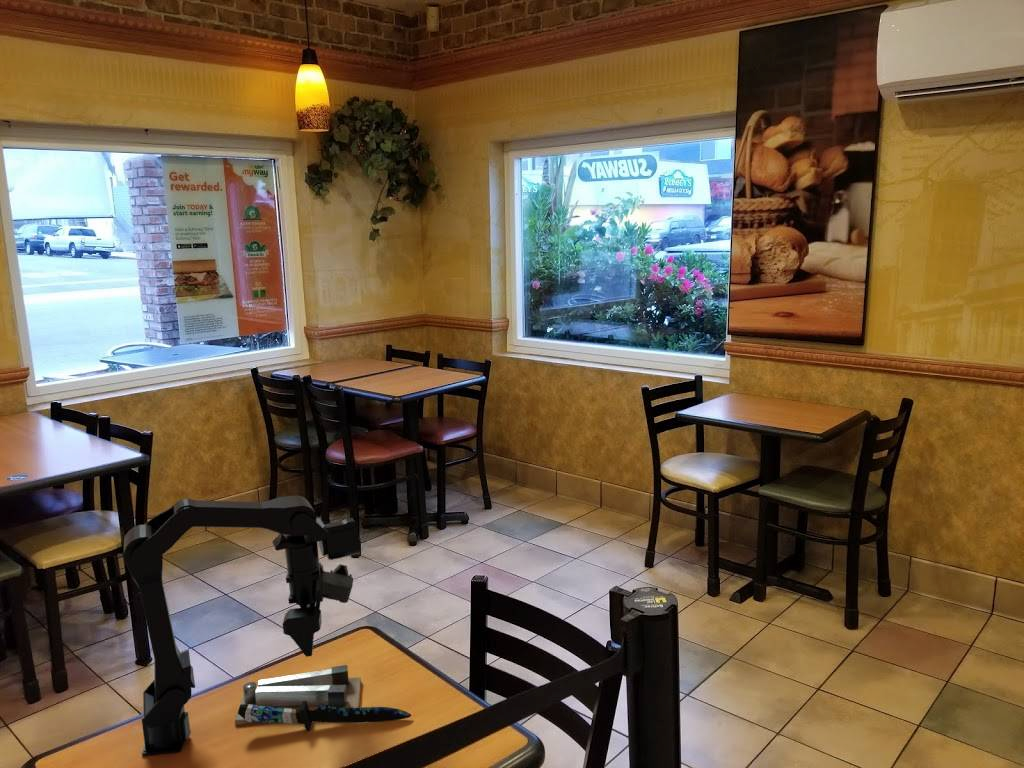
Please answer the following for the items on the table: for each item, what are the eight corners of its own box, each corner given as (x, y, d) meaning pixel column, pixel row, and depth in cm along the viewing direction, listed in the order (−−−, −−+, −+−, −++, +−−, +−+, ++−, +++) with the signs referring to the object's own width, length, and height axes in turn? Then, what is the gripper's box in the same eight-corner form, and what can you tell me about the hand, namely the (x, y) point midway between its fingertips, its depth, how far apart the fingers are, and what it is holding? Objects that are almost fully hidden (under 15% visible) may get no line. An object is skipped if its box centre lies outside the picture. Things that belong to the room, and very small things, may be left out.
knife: (236, 729, 136) (236, 707, 135) (241, 718, 139) (241, 696, 138) (409, 737, 139) (410, 716, 138) (410, 726, 142) (412, 705, 141)
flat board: (235, 725, 140) (234, 720, 139) (245, 692, 149) (245, 687, 149) (358, 713, 143) (358, 708, 142) (361, 681, 152) (360, 677, 152)
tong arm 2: (259, 699, 145) (258, 685, 144) (260, 692, 147) (258, 678, 146) (348, 684, 149) (347, 670, 149) (348, 678, 151) (347, 664, 151)
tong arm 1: (255, 708, 142) (254, 693, 142) (259, 701, 144) (257, 686, 144) (344, 706, 143) (343, 691, 142) (347, 699, 145) (346, 684, 144)
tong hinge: (243, 705, 143) (241, 690, 143) (245, 697, 146) (244, 682, 145) (256, 704, 144) (255, 688, 143) (258, 696, 146) (257, 681, 145)
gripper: (344, 584, 132) (352, 665, 136) (351, 539, 150) (358, 612, 154) (277, 591, 131) (287, 673, 134) (292, 545, 149) (301, 618, 152)
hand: (311, 642), depth 144 cm, fingers open, 9 cm apart
